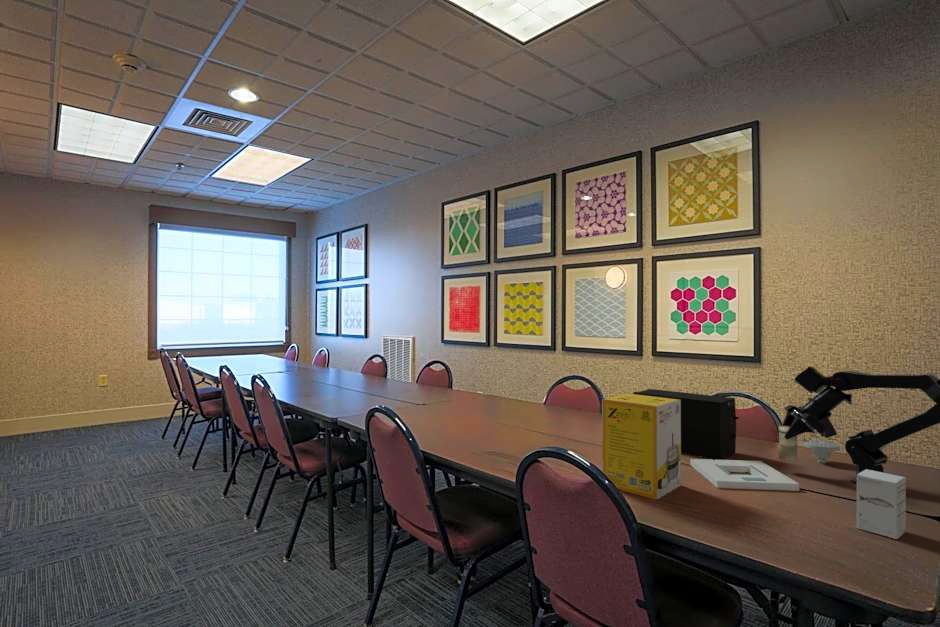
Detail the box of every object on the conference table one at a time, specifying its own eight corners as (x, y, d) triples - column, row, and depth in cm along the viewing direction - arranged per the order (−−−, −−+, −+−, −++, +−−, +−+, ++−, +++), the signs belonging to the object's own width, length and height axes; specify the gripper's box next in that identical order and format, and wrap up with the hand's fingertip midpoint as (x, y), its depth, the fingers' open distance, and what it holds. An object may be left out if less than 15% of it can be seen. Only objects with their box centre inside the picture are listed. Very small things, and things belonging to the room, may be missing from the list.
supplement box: (855, 528, 110) (854, 473, 110) (866, 521, 114) (865, 468, 115) (897, 541, 104) (896, 482, 104) (907, 532, 108) (906, 476, 109)
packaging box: (628, 472, 151) (628, 393, 151) (681, 485, 139) (680, 399, 139) (602, 485, 139) (601, 399, 140) (656, 500, 128) (656, 406, 128)
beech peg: (800, 461, 148) (800, 429, 148) (784, 461, 149) (783, 429, 149) (791, 457, 153) (791, 426, 153) (775, 456, 154) (775, 425, 154)
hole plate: (799, 490, 135) (799, 483, 135) (717, 487, 137) (717, 480, 137) (760, 467, 156) (760, 460, 157) (690, 464, 159) (690, 458, 159)
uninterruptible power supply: (651, 437, 197) (651, 388, 197) (741, 453, 173) (740, 398, 173) (631, 444, 186) (631, 392, 186) (725, 462, 161) (724, 403, 162)
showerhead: (803, 435, 169) (838, 440, 163) (803, 456, 169) (839, 461, 163) (801, 441, 161) (839, 445, 155) (802, 462, 161) (839, 468, 155)
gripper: (860, 429, 138) (815, 464, 141) (832, 416, 156) (793, 448, 159) (827, 400, 140) (784, 435, 143) (803, 391, 158) (766, 422, 161)
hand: (782, 436), depth 152 cm, fingers closed on beech peg, 5 cm apart
